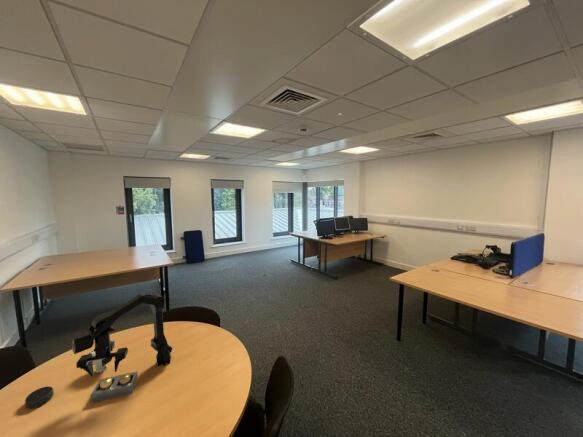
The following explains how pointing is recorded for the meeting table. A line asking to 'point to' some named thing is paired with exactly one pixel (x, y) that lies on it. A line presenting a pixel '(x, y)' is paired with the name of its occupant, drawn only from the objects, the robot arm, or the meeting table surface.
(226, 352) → the meeting table surface
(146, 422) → the meeting table surface
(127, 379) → the dull gold rounded cylinder
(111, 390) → the jig
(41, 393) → the smart speaker
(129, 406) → the meeting table surface
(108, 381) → the brass domed cylinder
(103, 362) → the pneumatic valve
